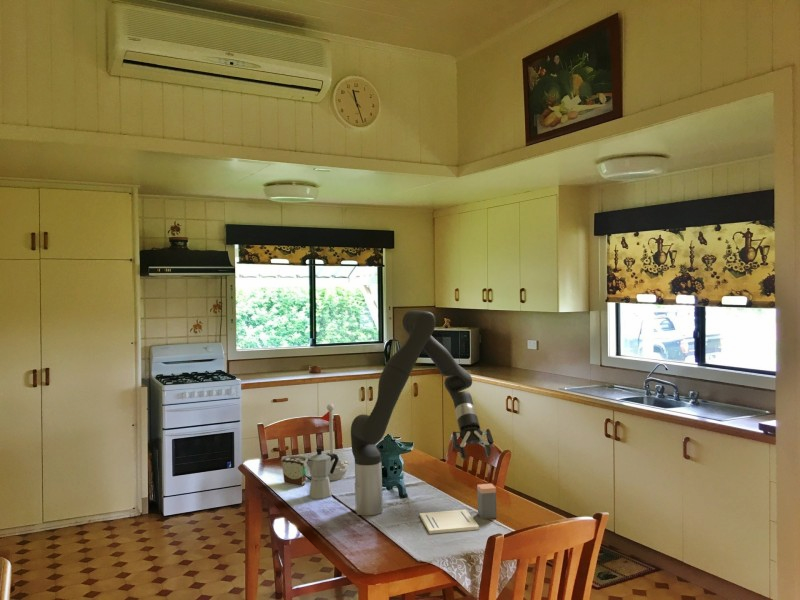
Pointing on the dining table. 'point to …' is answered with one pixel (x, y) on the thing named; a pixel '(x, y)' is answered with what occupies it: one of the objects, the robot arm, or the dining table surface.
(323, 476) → the coffee maker
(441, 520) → the notepad
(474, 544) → the dining table surface
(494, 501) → the grey pink block
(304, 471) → the food container
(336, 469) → the flag stand
